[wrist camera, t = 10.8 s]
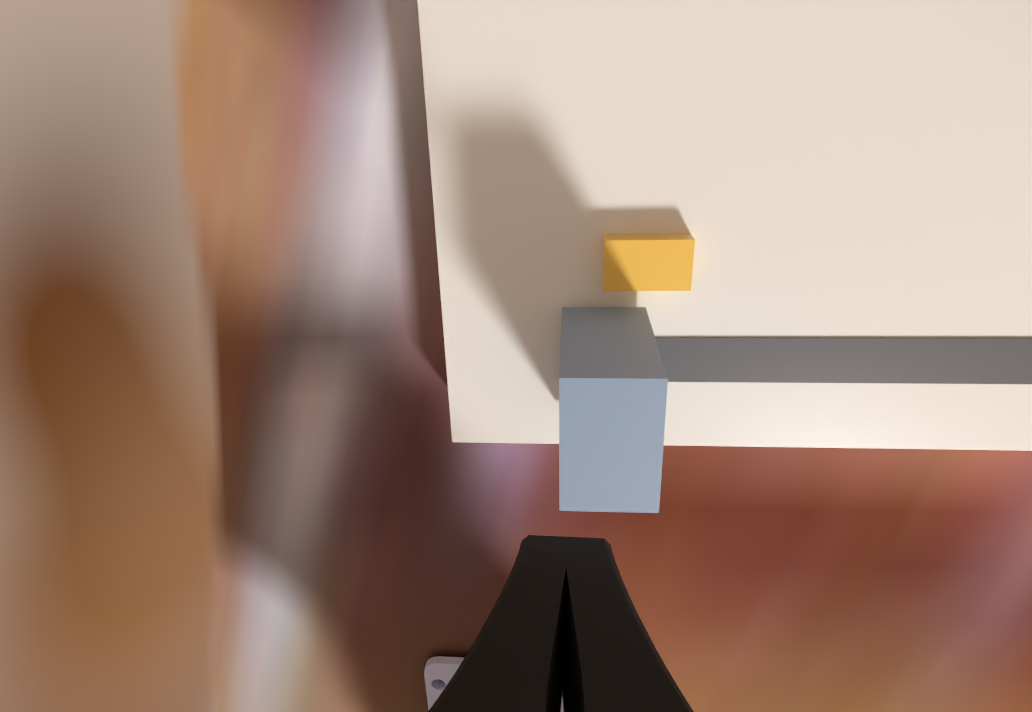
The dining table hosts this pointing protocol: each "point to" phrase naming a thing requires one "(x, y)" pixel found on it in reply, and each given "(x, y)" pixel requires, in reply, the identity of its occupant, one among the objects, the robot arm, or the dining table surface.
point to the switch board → (741, 212)
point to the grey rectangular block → (610, 411)
